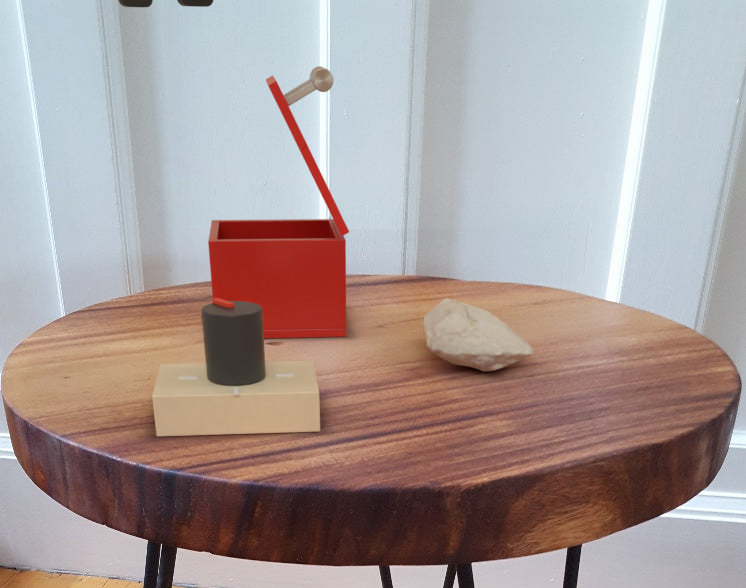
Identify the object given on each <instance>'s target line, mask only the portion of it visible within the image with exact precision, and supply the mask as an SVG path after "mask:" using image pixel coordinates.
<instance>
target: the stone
mask: <svg viewBox="0 0 746 588" xmlns="http://www.w3.org/2000/svg"><path fill="white" fill-rule="evenodd" d="M423 328H424V331H423V333H424V334H425V341H426V348H428V349H429V351H430V352H431V353H432V354H434V355H435V356H437V357H439V358H441V359H443V360H444V361H445V362H449V363H450V364H453V365H456V366H463V367H469V368H472V369H476V370H479V371H482V372H493V371H497V370H500V369H503V368H505V367H508V366H511V365H513V364H516V363H518V362H521V361H523V360H525V359H526V358H528V357H531V356H533V354H534V348H533V347H532V346H531V345H530V344H529V343H528V342H527V341H526V340H525V339H523V338H522V337H520V336H518V335H517V334H516V333H515V332H514V331H513V330H512V329H511V327H510V326H509V325H508V324H507V323H505V322H504V321H502V319H499V318H498V317H497V316H496V315H494V314H493V313H492V312H490V311H488V310H487V309H483V308H481V307H478V306H475V305H473V304H468V303H465V302H462V301H460V300H456V299H453V298H450V297H447V298H444V299H442V301H440V302H439V303H437V304H436V305H435V306H434V307H433V308H432V309H430V310H429V311H427V312H426V314H425V315H424V317H423Z"/></svg>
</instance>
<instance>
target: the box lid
mask: <svg viewBox="0 0 746 588" xmlns="http://www.w3.org/2000/svg"><path fill="white" fill-rule="evenodd" d="M265 82H266V84H267V86H268V88H269V90H270V92H271V95H272V97H273V99H274V101H275V103H276V105H277V107H278V109H279V111H280V113H281V116H282V117H283V119H284V121H285V124H286V126H287V128H288V129H289V132H290V133H291V135H292V138H293V140H294V141H295V144H296V146H297V149H298V150H299V152H300V154H301V156H302V158H303V161H304V162H305V164H306V166H307V168H308V170H309V172H310V174H311V177H312V178H313V181H314V183H315V184H316V187H317V189H318V191H319V193H320V195H321V197H322V199H323V201H324V204H325V205H326V207H327V209H328V211H329V214H330V215H331V217H332V219H334V221H335V224H336V226H337V228H338V230H339V232H340V234H341V236H345V235H347V234H349V233H350V230H349V228H348V226H347V224H346V222H345V220H344V218H343V215H342V214H341V211H340V209H339V207H338V205H337V203H336V201H335V199H334V197H333V195H332V193H331V191H330V188H329V187H328V185H327V182H326V180H325V179H324V176H323V174H322V172H321V170H320V168H319V166H318V164H317V161H316V160H315V158H314V156H313V153H312V152H311V150H310V147H309V145H308V143H307V141H306V139H305V137H304V134H303V133H302V130H301V128H300V127H299V124H298V123H297V120H296V118H295V116H294V114H293V112H292V110H291V108H290V106H292V105H293V104H295V103H296V102H298V101H300V100H302V99H304V98H305V97H306V96H308V95H310V94H311V93H313V92H315V91H318V92H321V93H326V92H329V91H330V90H331V89H332V87H333V84H334V76H333V74H332V72H331V71H330V70H329V69H328V68H326V67H323V66H320V65H319V66H315V67H313V68H312V69H311V70H310V74H309V79H307V80H305V81H303V82H302V83H300V84H298V85H297V86H296V87H294V88H292V89H291V90H289V91H287V92H286V93H284V94H283V92H282V90H281V87H280V85H279V83H278V81H277V79H276V78H275V76H274V75H270V76H269V77H268V78H266V79H265Z"/></svg>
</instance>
